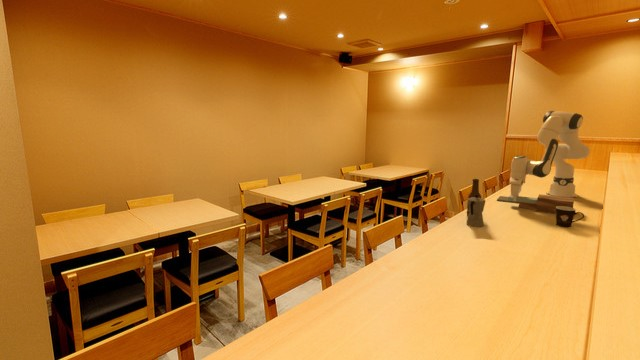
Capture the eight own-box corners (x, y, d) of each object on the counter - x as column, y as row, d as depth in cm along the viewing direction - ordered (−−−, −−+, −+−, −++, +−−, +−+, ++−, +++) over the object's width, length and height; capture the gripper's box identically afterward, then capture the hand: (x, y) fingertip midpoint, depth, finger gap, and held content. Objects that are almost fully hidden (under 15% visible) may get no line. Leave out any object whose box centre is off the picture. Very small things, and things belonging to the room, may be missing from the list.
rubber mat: (500, 197, 234) (500, 195, 234) (541, 202, 218) (541, 200, 217) (496, 200, 225) (496, 199, 225) (540, 205, 209) (540, 204, 208)
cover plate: (509, 198, 214) (509, 195, 214) (544, 202, 202) (545, 199, 201) (508, 200, 210) (508, 197, 209) (544, 204, 197) (544, 201, 197)
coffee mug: (550, 224, 173) (552, 207, 171) (559, 222, 177) (561, 205, 175) (574, 231, 163) (576, 212, 161) (583, 228, 166) (585, 210, 164)
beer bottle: (479, 219, 185) (481, 180, 181) (465, 217, 190) (467, 179, 185) (481, 216, 191) (484, 178, 187) (468, 214, 196) (470, 177, 191)
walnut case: (520, 204, 213) (521, 192, 212) (572, 211, 196) (574, 197, 194) (517, 208, 204) (518, 196, 203) (572, 215, 187) (573, 202, 185)
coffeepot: (470, 220, 185) (471, 191, 182) (487, 223, 179) (489, 193, 176) (461, 227, 174) (462, 196, 171) (478, 230, 168) (481, 198, 165)
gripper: (514, 177, 217) (512, 196, 219) (509, 182, 201) (507, 202, 204) (525, 177, 213) (523, 197, 215) (521, 183, 197) (519, 203, 200)
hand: (515, 199), depth 209 cm, fingers closed on cover plate, 6 cm apart
